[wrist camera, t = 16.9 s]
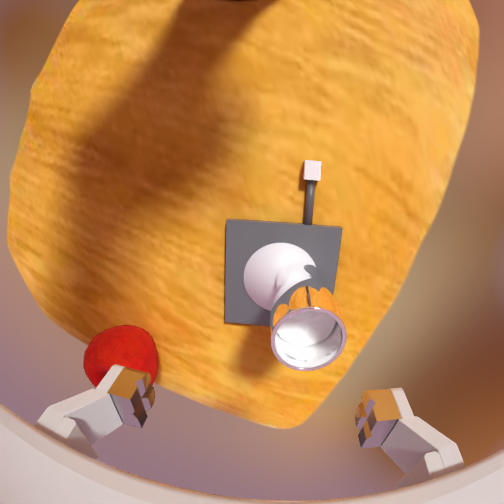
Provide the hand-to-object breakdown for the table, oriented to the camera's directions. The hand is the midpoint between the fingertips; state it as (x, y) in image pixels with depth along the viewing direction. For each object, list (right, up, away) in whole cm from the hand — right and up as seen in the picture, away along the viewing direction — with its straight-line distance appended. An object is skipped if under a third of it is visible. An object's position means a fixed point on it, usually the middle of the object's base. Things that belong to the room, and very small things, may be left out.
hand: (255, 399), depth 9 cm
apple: (-20, -10, +35) cm, 41 cm away
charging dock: (+4, +6, +28) cm, 29 cm away
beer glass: (+6, +1, +28) cm, 29 cm away
